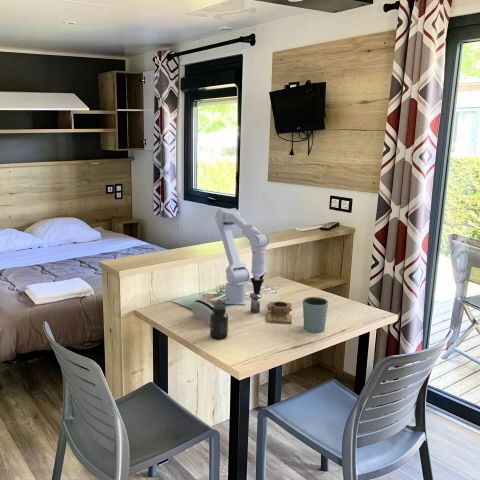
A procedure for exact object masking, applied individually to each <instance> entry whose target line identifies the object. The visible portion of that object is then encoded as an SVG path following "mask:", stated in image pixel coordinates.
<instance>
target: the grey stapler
mask: <svg viewBox="0 0 480 480" xmlns="http://www.w3.org/2000/svg"><path fill="white" fill-rule="evenodd" d="M190 306H191V310H192V315H193V317H195V318H197V319H199V318H200V319H199V320H201V319H202V320H201V321H203V320H204V322H205V321H206V322H205V323H207V324H209V325H210V316H211V314H212V313H213V307H214V306H215V305H214V304H213V303H211V302H209V301H207V300H206V299H201V298H196V299H195V300H194V301H192V302H191V303H190Z"/></svg>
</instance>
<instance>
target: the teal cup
mask: <svg viewBox="0 0 480 480" xmlns="http://www.w3.org/2000/svg"><path fill="white" fill-rule="evenodd" d="M328 307H329V301H328V300H327V299H326V298H323V297H319V296H307V297H305V298H303V299H302V311H303V313H302V314H303V315H302V316H303V329H304V330H305V331H306V332H309V333H312V334H313V333H314V334H320V333H323V332H324V331H325V330H326V321H327V312H328Z"/></svg>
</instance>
